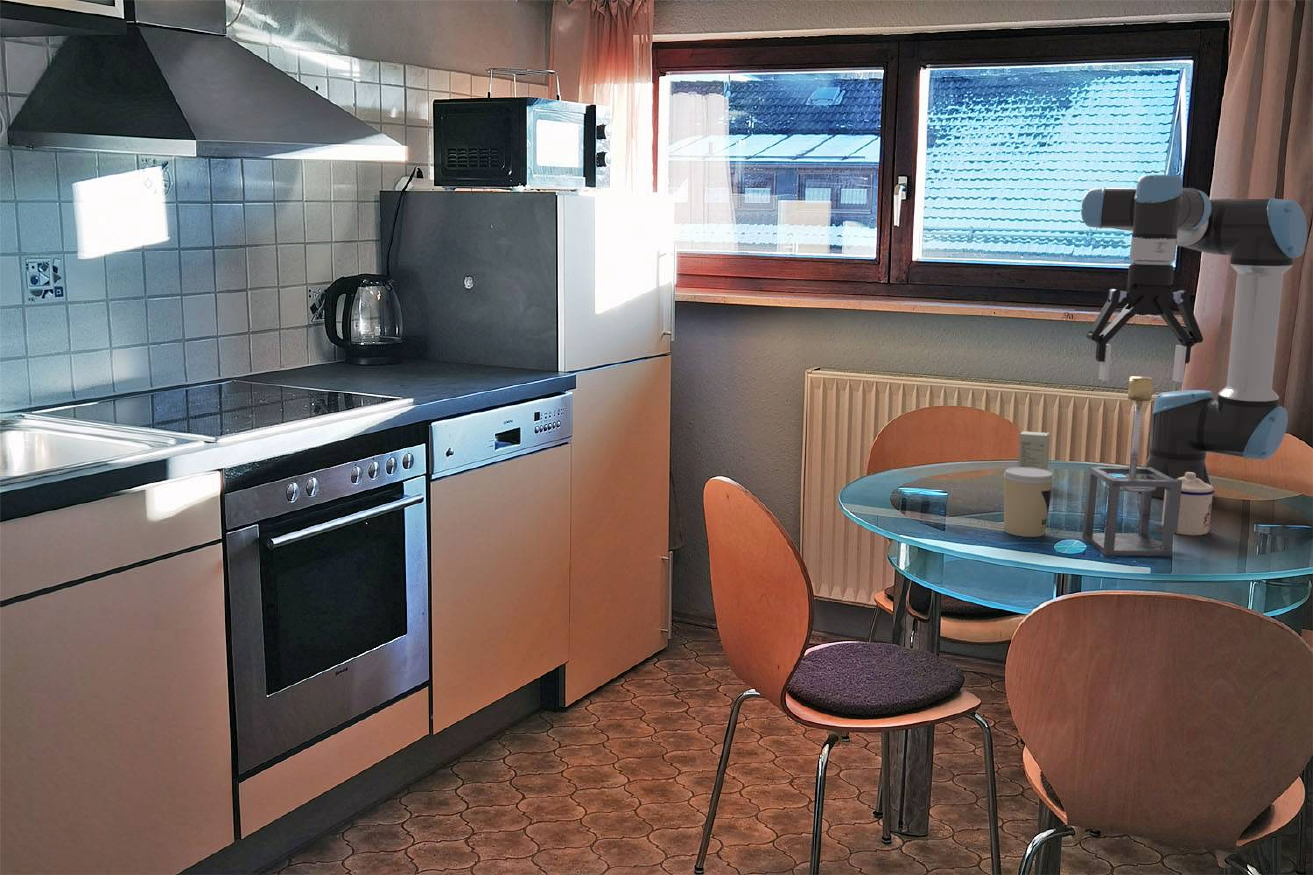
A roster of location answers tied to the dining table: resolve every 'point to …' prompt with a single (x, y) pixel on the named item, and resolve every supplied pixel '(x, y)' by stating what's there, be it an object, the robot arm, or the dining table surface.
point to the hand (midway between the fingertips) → (1140, 380)
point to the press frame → (1140, 541)
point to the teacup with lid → (1193, 506)
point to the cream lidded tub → (1026, 500)
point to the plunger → (1137, 425)
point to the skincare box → (1033, 450)
